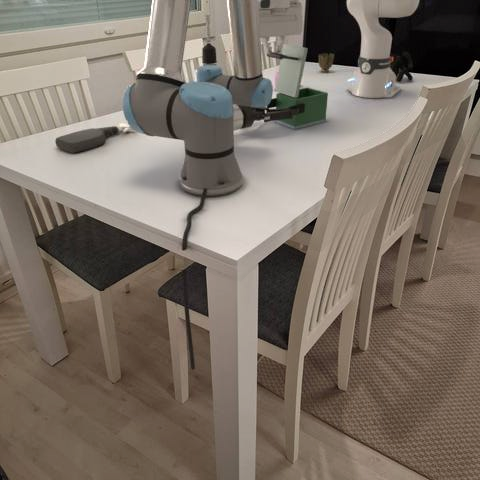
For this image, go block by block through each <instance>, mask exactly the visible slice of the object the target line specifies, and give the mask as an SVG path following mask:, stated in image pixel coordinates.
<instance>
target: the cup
mask: <svg viewBox="0 0 480 480" xmlns="http://www.w3.org/2000/svg"><path fill="white" fill-rule="evenodd" d="M334 59H335V54H334V53H329V54H328V52H326V53H324V52H323V53H319V54H318V66H319V68H320V69H321V70H320V71H321V72H322V73H328V72H329V71H330V69H331V68H332V67H333V63H334Z"/></svg>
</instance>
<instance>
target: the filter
mask: <svg viewBox="0 0 480 480" xmlns="http://www.w3.org/2000/svg"><path fill="white" fill-rule="evenodd" d="M210 17H211V14H204V18H205V27H206V29H205V30H206V31H205V33H206V39H207V40H206V42H207V43H206V45H204V46H202V49H201V50H202V51H201V52H202V54H201V55H202V57H201V58H202V61H201V63H202V66H205V65H216V66H218V64H216V63H218V61H217V48H216V47H215V46H214V45H212V43H210V42H211V40H210V39H211V31H210V29H211V28H210Z"/></svg>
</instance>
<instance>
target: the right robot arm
mask: <svg viewBox="0 0 480 480" xmlns="http://www.w3.org/2000/svg"><path fill="white" fill-rule="evenodd" d="M419 4H420V0H346V8H347V11H348V12H349V14H350V15H351V16H353V18H354V19H355V21H356V22H357V24H358V26H359V29H360V35H361V36H360V37H361V43H360V52H359V53H360V54H359V56H358V60H357V68H356V69H355V70H354V73H353V77H352V78H349V79H347V82H350V81H352V83H351V86H350V87H349V88H348V92H350V93H351V94H352V95H353V96H355V97H360V98H366V99H367V98H368V99H378V98H379V99H380V98H381V99H382V98H384V99H386V98H387V99H389V98H393V97H394V96H395V95H396V94H398V93H399V92H400V91H401V87H400V86H397V85H396V81H397V77H396V75H395V74H394V72H393V71H392V68H391V65H390V63H391V62H393V63H394V61H395V60H394V58H393V57H390V53H391V49H392V43H393V42H392V41H393V36H392V33H391V31H389V30H388V29H387V28H385V27H384V26H382V25H381V24H380V22H379V21H380V20H379V18H391V19H393V18H394V19H398V18H404V17H410V16H412V15H413V14H414V13H415V12H416V10H417V8H418V7H419ZM258 5H259V22H260V39H261V45H262V46H263V53H264V54H265V55H266V54H270V53H272V52H274V53H279V54H281V53H282V47H283V44H284V42H285V36H287V37H288V36H298V35H301V34H302V31H303V27H304V26H303V25H304V24H303V23H304V21H303V5H302V3H301V2H300V0H258ZM271 38H276V40H277V41H276V43H275V45H273V47H272V46H270V43H269V42H270V39H271ZM272 50H273V51H272ZM401 71H402V70H401V69H400V68H399V72H398V74H399V73H400V72H401Z"/></svg>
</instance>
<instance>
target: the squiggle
mask: <svg viewBox="0 0 480 480" xmlns="http://www.w3.org/2000/svg"><path fill="white" fill-rule="evenodd" d="M390 57H393V58H394V60H393V62H391V63H390V65H391V66H390V68H391V70H392V71H393V72H394V74H395V75H396V81H397V82H399V83H400V82H402V81H403V79H404V76H406V78H407V80H408V81H412V80H413V79H414V77H413V75H412V74H411V73H410V72H409V71H410V70H412V69H413V68H414V64H413V61H412V57H411V54H410V53H409V52H408V51H403V53H402V54H401V55H396V54H394V53H392V52H390ZM401 57H402V59H401ZM406 62H407V65H408V66H407V67H405V66H404V65H405V64H406ZM399 68H400V69H401V71H400V73H399V74H398V72H399Z"/></svg>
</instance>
